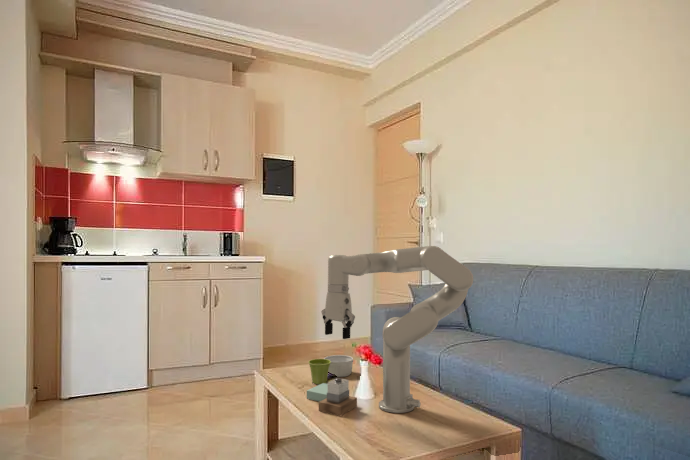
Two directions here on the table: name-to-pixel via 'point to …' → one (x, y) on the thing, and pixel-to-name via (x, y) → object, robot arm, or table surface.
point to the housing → (338, 390)
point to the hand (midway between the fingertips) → (337, 336)
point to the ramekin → (340, 365)
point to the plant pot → (319, 370)
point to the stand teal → (318, 392)
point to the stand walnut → (338, 406)
